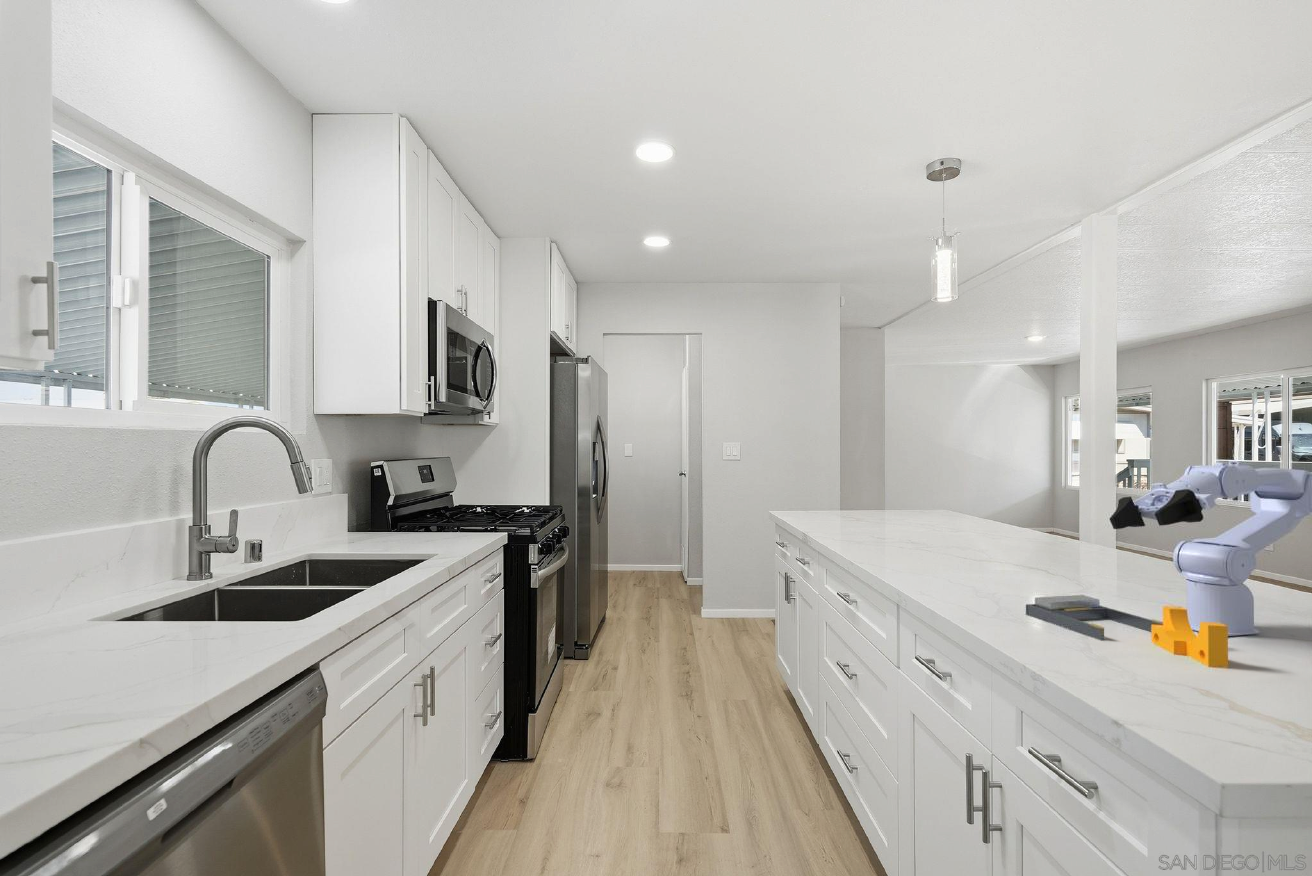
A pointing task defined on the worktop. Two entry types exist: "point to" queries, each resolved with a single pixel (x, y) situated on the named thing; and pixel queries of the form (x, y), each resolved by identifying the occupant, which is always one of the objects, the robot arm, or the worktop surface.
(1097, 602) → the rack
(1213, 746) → the worktop surface
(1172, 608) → the notched yellow bracket
